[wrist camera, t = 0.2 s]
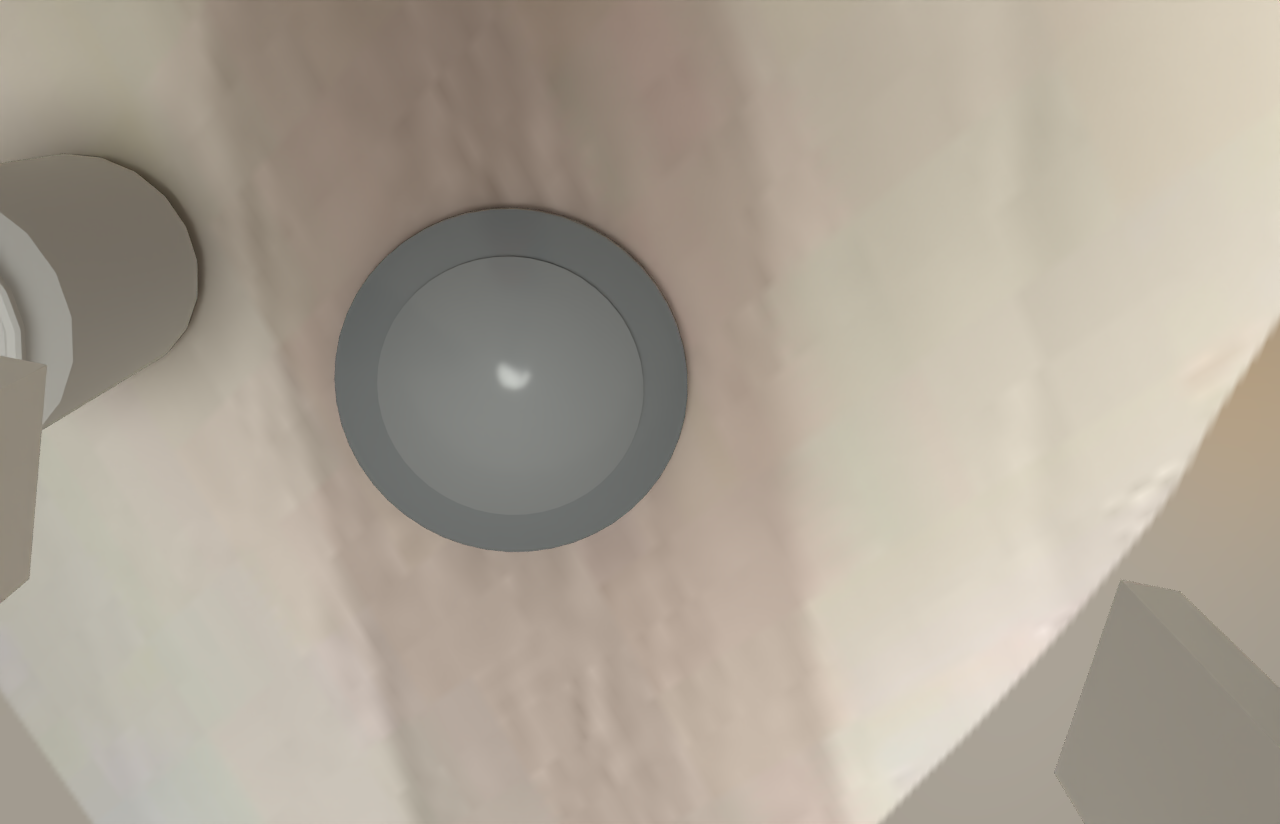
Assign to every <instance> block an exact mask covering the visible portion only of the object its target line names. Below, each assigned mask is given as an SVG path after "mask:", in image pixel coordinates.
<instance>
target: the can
mask: <svg viewBox="0 0 1280 824" xmlns="http://www.w3.org/2000/svg"><path fill="white" fill-rule="evenodd" d="M197 297H198V275H197V259H196V256H195V253H194V250H193V247H192V243H191V240H190V237H189V234H188V231H187V228H186V226H185V225H184V223H183V222H182V220H181V219H180V217H179V216H178V214H177V213H176V212H175V210H174V209H173V207H172V206H171V204H170V203H169V201H168V200H167V199H166V197H165V196H164V195H163V194H162V193H160V192H159V191H158V190H157V189H155V188H154V187H153V186H152V185H151V184H149V183H148V182H147V181H146V180H144V179H143V178H142V177H141V176H139V175H138V174H137V173H136V172H134V171H132V170H129V169H127V168H125V167H122V166H120V165H117V164H115V163H113V162H110V161H108V160H105V159H103V158H101V157H92V156H81V155H71V154H59V155H52V156H45V157H38V158H32V159H25V160H18V161H11V162H5V163H0V356H5V357H10V358H15V359H20V360H25V361H30V362H35V363H40V364H45V365H47V373H46V385H45V397H44V409H43V420H42V430H43V429H45V428H47V427H48V426H50V425H51V424H53V423H55V422H56V421H58V420H60V419H61V418H63V417H65V416H66V415H68V414H70V413H71V412H73V411H74V410H76V409H78V408H79V407H81V406H83V405H84V404H86V403H88V402H89V401H91V400H93V399H94V398H96V397H97V396H99V395H101V394H102V393H104V392H106V391H107V390H109V389H111V388H112V387H114V386H116V385H117V384H119V383H120V382H122V381H124V380H125V379H127V378H129V377H130V376H132V375H134V374H135V373H137V372H138V371H140V370H142V369H143V368H145V367H147V366H148V365H150V364H151V363H153V362H155V361H156V360H158V359H160V358H161V357H163V356H164V355H166V354H167V353H168V352H169V350H170V349H171V348H172V347H173V345H174V344H175V343H176V342H177V340H178V339H179V338H180V337H181V335H182V334H183V333H184V332H185V330H186V329H187V327H188V324H189V321H190V318H191V315H192V312H193V309H194V306H195V303H196V300H197Z"/></svg>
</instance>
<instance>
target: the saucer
mask: <svg viewBox="0 0 1280 824" xmlns="http://www.w3.org/2000/svg"><path fill="white" fill-rule="evenodd" d="M335 391H336V402H337V406H338V411H339V415H340V420H341V424H342V427H343V430H344V432H345V435H346V438H347V440H348V443H349V446H350V447H351V449H352V451H353V453H354V455H355V457H356V459H357V461H358V463H359V465H360V466H361V468H362V469H363V470H364V472H365V473H366V475H367V476H368V478H369V479H370V480H371V482H372V483H373V484H374V486H375V487H376V488H377V489H378V490H379V491H380V492H381V493H382V494H383V495H384V497H385V498H386V499H387V500H388V501H389V502H391V503H392V504H393V505H394V506H395V507H396V508H398V509H399V510H400V511H401V512H402V513H403V514H405V515H406V516H407V517H409V518H411V519H412V520H414V521H415V522H417V523H418V524H420V525H421V526H423V527H424V528H426V529H428V530H430V531H432V532H434V533H436V534H438V535H440V536H442V537H444V538H447V539H450V540H453V541H456V542H458V543H461V544H464V545H468V546H473V547H477V548H481V549H486V550H495V551H505V552H525V551H537V550H544V549H551V548H555V547H559V546H562V545H566V544H570V543H573V542H576V541H578V540H581V539H583V538H586V537H588V536H590V535H593V534H595V533H597V532H598V531H600V530H602V529H604V528H605V527H607V526H609V525H611V524H612V523H614V522H615V521H617V520H618V519H619V518H621V517H622V516H623V515H625V514H626V513H627V512H628V511H630V510H631V509H632V508H633V507H634V506H635V505H636V504H637V503H638V502H639V501H640V500H641V499H642V498H643V497H644V496H645V495H646V494H647V493H648V492H649V490H650V489H651V488H652V486H653V485H654V484H655V483H656V481H657V480H658V479H659V477H660V476H661V474H662V472H663V471H664V469H665V467H666V465H667V464H668V462H669V460H670V459H671V456H672V454H673V451H674V449H675V447H676V444H677V442H678V439H679V436H680V432H681V429H682V425H683V421H684V417H685V410H686V402H687V368H686V361H685V355H684V348H683V344H682V340H681V337H680V333H679V330H678V326H677V323H676V321H675V318H674V316H673V314H672V312H671V309H670V307H669V305H668V303H667V301H666V299H665V298H664V296H663V294H662V293H661V291H660V289H659V288H658V286H657V284H656V283H655V282H654V280H653V279H652V278H651V277H650V275H649V274H648V273H647V272H646V271H645V269H644V268H643V267H642V266H641V265H640V264H639V263H638V262H637V261H636V260H635V259H634V258H633V257H632V256H631V255H630V254H629V253H628V252H627V251H626V250H625V249H623V248H622V247H621V246H619V245H618V244H617V243H615V242H614V241H612V240H611V239H610V238H608V237H607V236H606V235H604V234H602V233H600V232H598V231H597V230H595V229H593V228H591V227H589V226H587V225H586V224H583V223H581V222H578V221H575V220H573V219H570V218H568V217H565V216H562V215H558V214H554V213H550V212H546V211H542V210H535V209H526V208H517V207H514V208H490V209H483V210H477V211H470V212H467V213H463V214H460V215H457V216H453V217H450V218H447V219H445V220H442V221H440V222H438V223H436V224H434V225H431V226H429V227H427V228H425V229H424V230H422V231H420V232H419V233H417V234H416V235H414V236H412V237H411V238H409V239H408V240H406V241H405V242H404V243H402V244H401V245H400V246H399V247H397V248H396V249H395V250H394V251H393V252H391V253H390V254H389V255H388V256H387V257H386V258H385V259H384V260H383V261H382V262H381V263H380V264H379V265H378V266H377V267H376V268H375V270H374V271H373V272H372V273H371V274H370V275H369V277H368V278H367V280H366V281H365V282H364V284H363V285H362V287H361V288H360V290H359V291H358V293H357V294H356V296H355V298H354V300H353V302H352V304H351V307H350V309H349V311H348V313H347V315H346V318H345V321H344V324H343V327H342V330H341V333H340V336H339V342H338V347H337V353H336V359H335Z"/></svg>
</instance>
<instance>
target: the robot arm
mask: <svg viewBox="0 0 1280 824" xmlns="http://www.w3.org/2000/svg"><path fill="white" fill-rule="evenodd" d="M46 373H47V365H45V364H40V363H35V362H30V361H25V360H20V359H15V358H10V357H5V356H0V603H1V602H3V601H4V600H5V599H6V598H7V597H8V596H10V595H11V594H12V593H13V592H14V591H16V590H17V589H18V588H19V587H20V586H21V585H23V584H24V583H25V582H26V581H27V580H28V579H29V576H30V564H31V552H32V540H33V528H34V516H35V504H36V492H37V480H38V468H39V456H40V444H41V432H42V420H43V409H44V397H45V385H46ZM1054 773H1055V775H1056V777H1057V778H1058V780H1059V782H1060V783H1061V785H1062V787H1063V789H1064V790H1065V792H1066V794H1067V795H1068V797H1069V799H1070V800H1071V802H1072V804H1073V805H1074V807H1075V809H1076V811H1077V812H1078V814H1079V816H1080V817H1081V819H1082V821H1083V822H1084V824H1280V688H1279V687H1278V686H1277V685H1276V684H1275V683H1274V682H1273V681H1272V680H1271V679H1270V678H1269V677H1268V676H1267V675H1266V674H1265V673H1264V672H1263V671H1262V670H1261V669H1260V668H1259V667H1258V666H1257V665H1256V664H1255V663H1253V661H1251V660H1250V659H1249V658H1248V657H1247V656H1246V655H1245V654H1244V653H1243V652H1242V651H1241V650H1240V649H1239V648H1238V647H1237V646H1236V645H1235V644H1234V643H1233V642H1232V641H1231V640H1230V639H1229V638H1228V637H1227V636H1225V634H1224V633H1222V632H1221V631H1220V630H1219V629H1218V628H1217V627H1216V626H1215V625H1214V624H1213V623H1212V622H1211V621H1210V620H1209V619H1208V618H1207V617H1206V616H1205V615H1204V614H1203V613H1202V612H1201V611H1200V610H1199V609H1198V608H1197V607H1196V606H1194V604H1193V603H1191V602H1190V601H1189V600H1188V599H1187V598H1186V597H1185V596H1184V595H1183V594H1182V593H1181V592H1180V591H1176V590H1171V589H1166V588H1160V587H1156V586H1151V585H1146V584H1141V583H1136V582H1131V581H1125V580H1120V583H1119V586H1118V589H1117V592H1116V595H1115V597H1114V600H1113V603H1112V606H1111V609H1110V612H1109V615H1108V618H1107V621H1106V623H1105V626H1104V629H1103V632H1102V635H1101V638H1100V641H1099V644H1098V647H1097V650H1096V653H1095V655H1094V658H1093V661H1092V664H1091V667H1090V670H1089V673H1088V676H1087V679H1086V682H1085V684H1084V687H1083V690H1082V693H1081V696H1080V699H1079V702H1078V705H1077V708H1076V710H1075V713H1074V716H1073V719H1072V722H1071V725H1070V728H1069V731H1068V734H1067V737H1066V739H1065V742H1064V746H1063V748H1062V751H1061V754H1060V757H1059V760H1058V763H1057V766H1056V768H1055V771H1054Z"/></svg>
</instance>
